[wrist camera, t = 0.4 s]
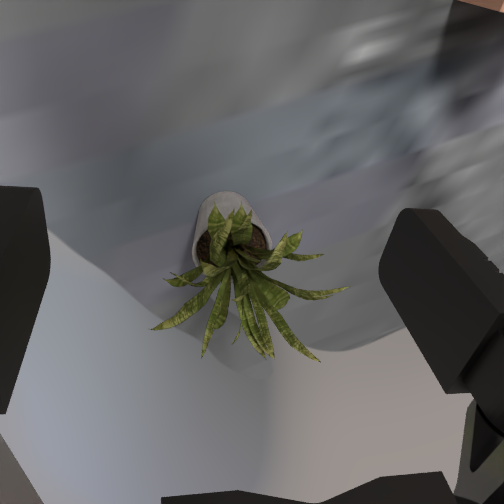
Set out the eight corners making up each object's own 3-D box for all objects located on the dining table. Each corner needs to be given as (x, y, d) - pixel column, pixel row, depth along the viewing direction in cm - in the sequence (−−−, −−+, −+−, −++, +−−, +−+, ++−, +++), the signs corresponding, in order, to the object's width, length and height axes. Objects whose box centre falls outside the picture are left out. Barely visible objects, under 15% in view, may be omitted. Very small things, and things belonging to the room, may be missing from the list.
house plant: (335, 197, 44) (406, 312, 31) (252, 288, 50) (283, 416, 37) (219, 119, 37) (248, 223, 24) (138, 234, 43) (127, 368, 30)
